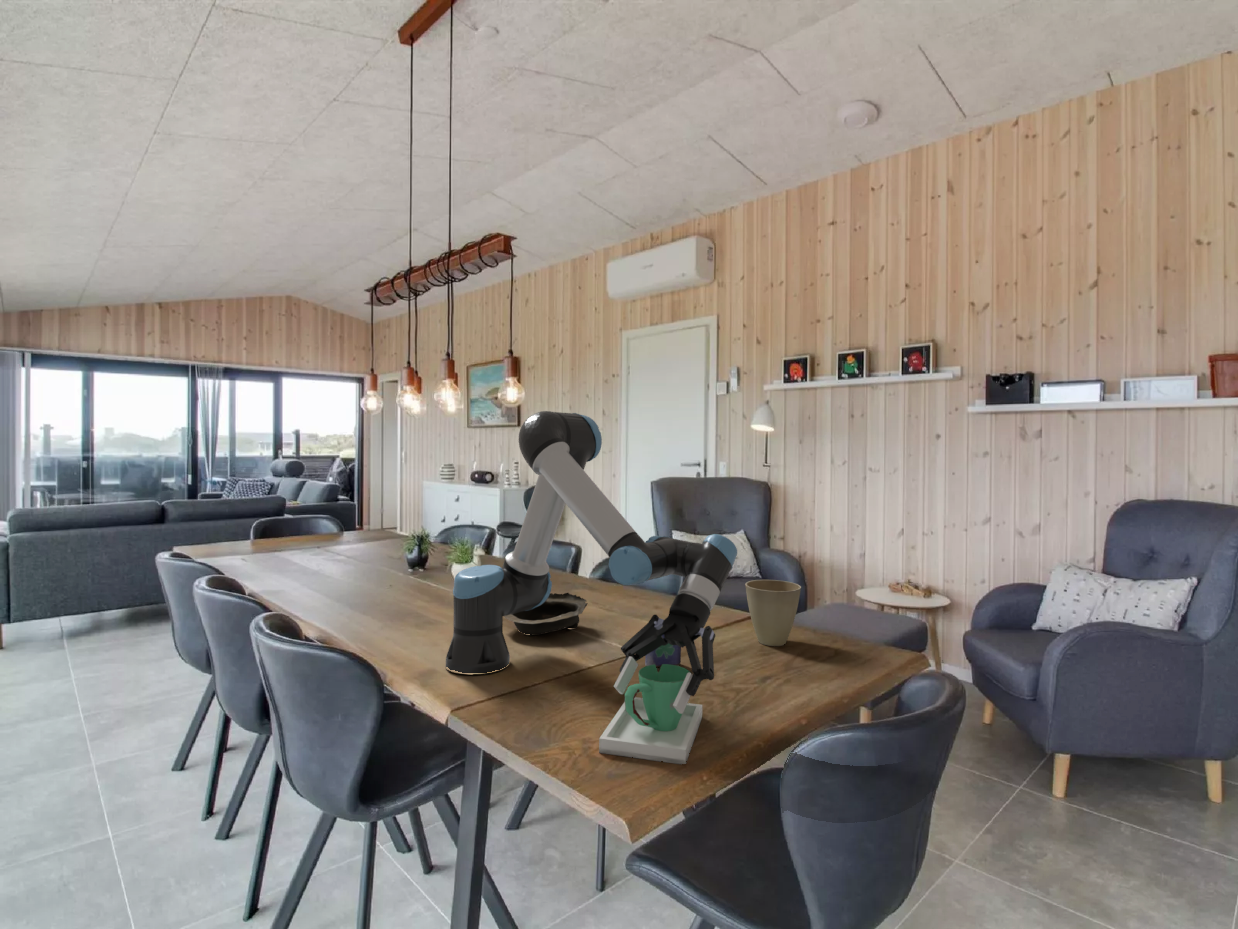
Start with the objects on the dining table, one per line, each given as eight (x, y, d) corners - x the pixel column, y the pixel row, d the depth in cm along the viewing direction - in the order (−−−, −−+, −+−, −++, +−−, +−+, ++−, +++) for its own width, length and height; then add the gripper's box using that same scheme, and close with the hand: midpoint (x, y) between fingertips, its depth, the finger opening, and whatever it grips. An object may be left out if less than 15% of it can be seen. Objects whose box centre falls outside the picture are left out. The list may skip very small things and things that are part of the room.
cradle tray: (599, 752, 110) (599, 738, 110) (628, 708, 129) (628, 696, 129) (685, 764, 106) (685, 749, 106) (702, 717, 125) (702, 704, 125)
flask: (647, 669, 153) (647, 624, 153) (643, 665, 156) (643, 621, 156) (682, 666, 156) (683, 622, 156) (677, 662, 159) (678, 619, 159)
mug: (661, 710, 126) (662, 660, 126) (701, 726, 119) (702, 673, 119) (607, 732, 116) (608, 678, 116) (647, 751, 109) (648, 693, 109)
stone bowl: (592, 620, 197) (593, 590, 196) (579, 651, 172) (580, 617, 172) (514, 616, 200) (514, 587, 199) (490, 646, 175) (490, 613, 174)
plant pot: (733, 638, 179) (734, 582, 179) (774, 632, 186) (775, 578, 186) (769, 653, 166) (769, 592, 166) (811, 646, 173) (812, 587, 173)
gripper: (756, 625, 121) (713, 729, 110) (652, 604, 137) (604, 693, 126) (743, 601, 117) (696, 707, 106) (636, 583, 133) (586, 673, 122)
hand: (646, 700), depth 116 cm, fingers open, 13 cm apart
